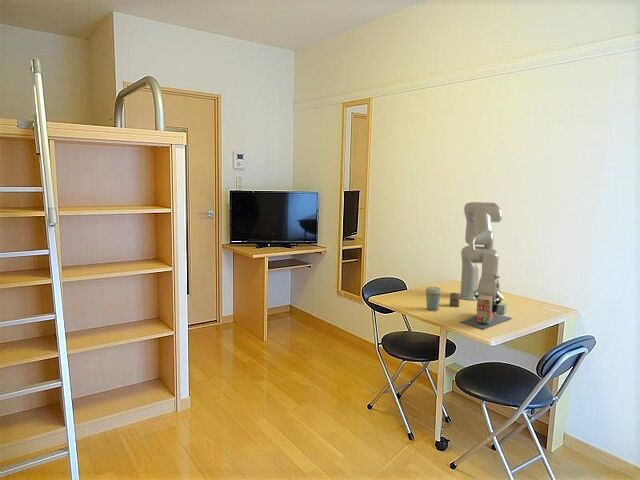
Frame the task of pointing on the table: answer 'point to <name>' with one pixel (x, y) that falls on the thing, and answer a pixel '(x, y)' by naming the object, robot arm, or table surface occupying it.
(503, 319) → the charcoal mat
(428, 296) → the coffee cup
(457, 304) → the walnut cylinder
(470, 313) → the table surface
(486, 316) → the stack of blocks
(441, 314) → the table surface
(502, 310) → the sage cube
